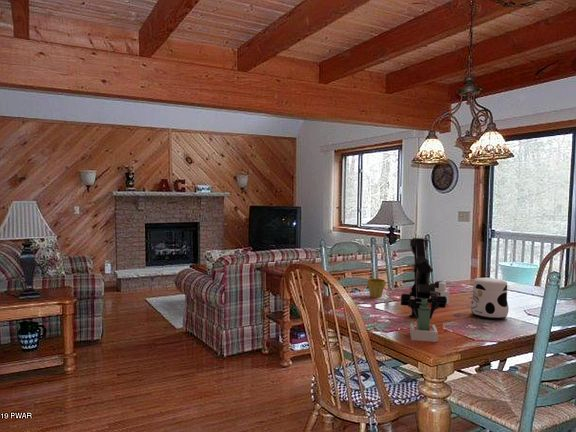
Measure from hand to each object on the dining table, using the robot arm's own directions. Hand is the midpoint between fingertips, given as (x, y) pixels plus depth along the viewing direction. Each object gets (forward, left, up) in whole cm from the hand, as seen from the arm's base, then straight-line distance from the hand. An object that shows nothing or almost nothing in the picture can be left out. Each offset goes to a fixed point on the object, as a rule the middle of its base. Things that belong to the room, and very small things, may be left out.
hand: (424, 318), depth 188 cm
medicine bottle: (-66, -8, -9) cm, 67 cm away
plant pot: (-60, -43, -9) cm, 75 cm away
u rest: (-1, 0, -9) cm, 9 cm away
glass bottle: (-1, 0, -7) cm, 7 cm away
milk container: (-52, +19, -9) cm, 56 cm away
